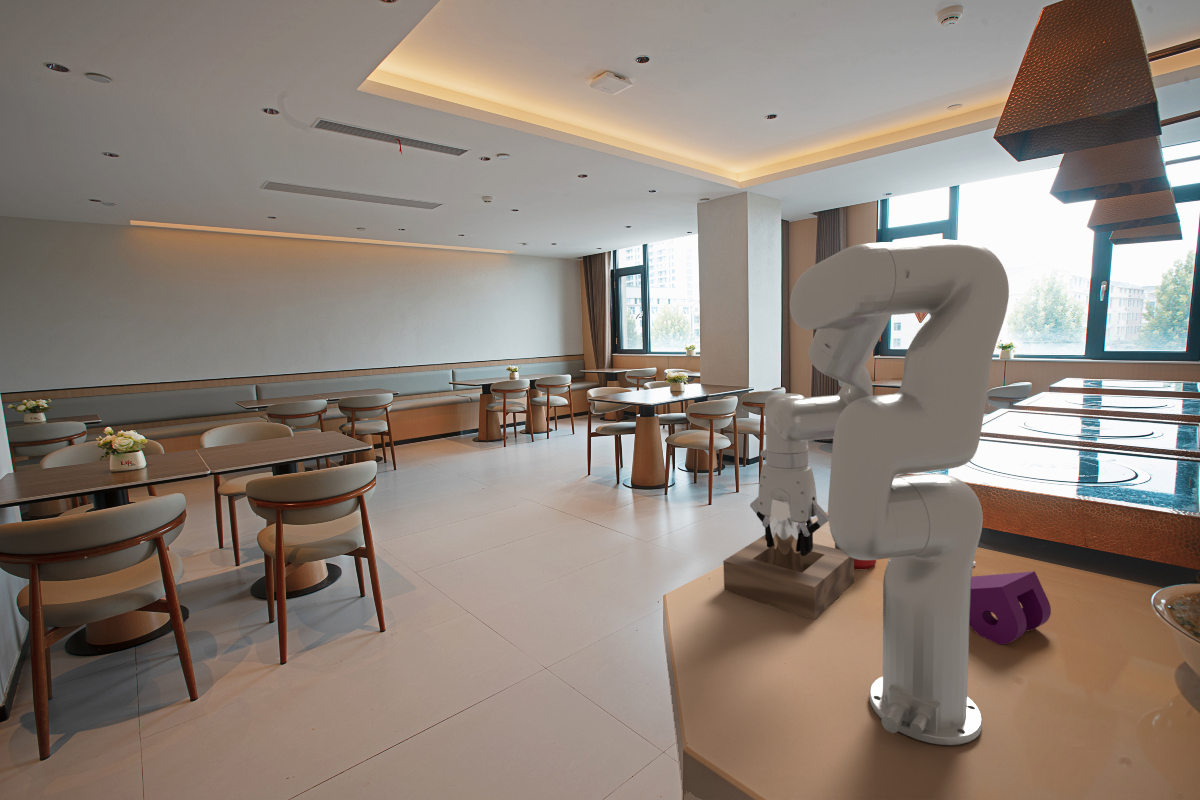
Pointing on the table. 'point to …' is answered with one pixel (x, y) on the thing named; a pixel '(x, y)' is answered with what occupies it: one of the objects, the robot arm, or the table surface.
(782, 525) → the silver metal cup
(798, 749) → the table surface
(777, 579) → the walnut well
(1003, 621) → the mounting bracket
